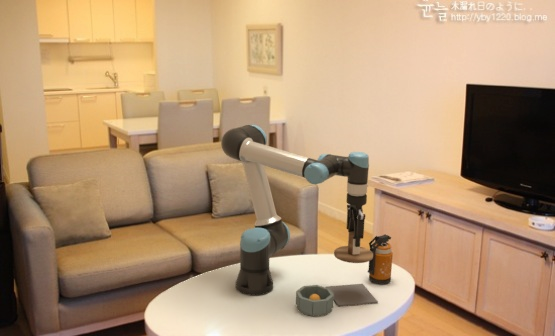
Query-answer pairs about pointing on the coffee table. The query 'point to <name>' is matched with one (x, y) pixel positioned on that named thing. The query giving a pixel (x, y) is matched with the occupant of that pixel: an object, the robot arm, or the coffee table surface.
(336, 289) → the rubber mat
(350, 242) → the walnut lid
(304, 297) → the slate bowl
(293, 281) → the coffee table surface
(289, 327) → the coffee table surface
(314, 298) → the orange ball
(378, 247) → the canister
